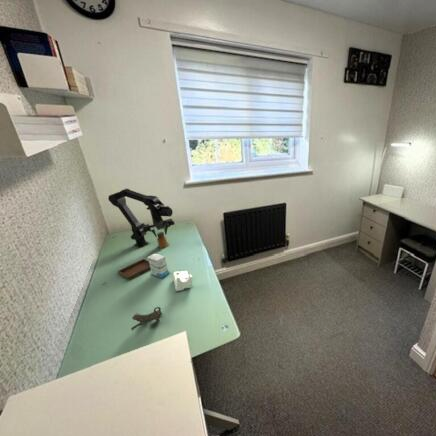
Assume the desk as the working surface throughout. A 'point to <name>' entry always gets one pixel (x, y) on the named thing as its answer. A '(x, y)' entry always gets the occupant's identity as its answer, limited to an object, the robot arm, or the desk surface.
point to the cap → (160, 234)
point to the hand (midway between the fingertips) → (161, 236)
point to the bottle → (162, 242)
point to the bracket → (182, 280)
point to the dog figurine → (147, 318)
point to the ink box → (158, 265)
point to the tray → (135, 269)
